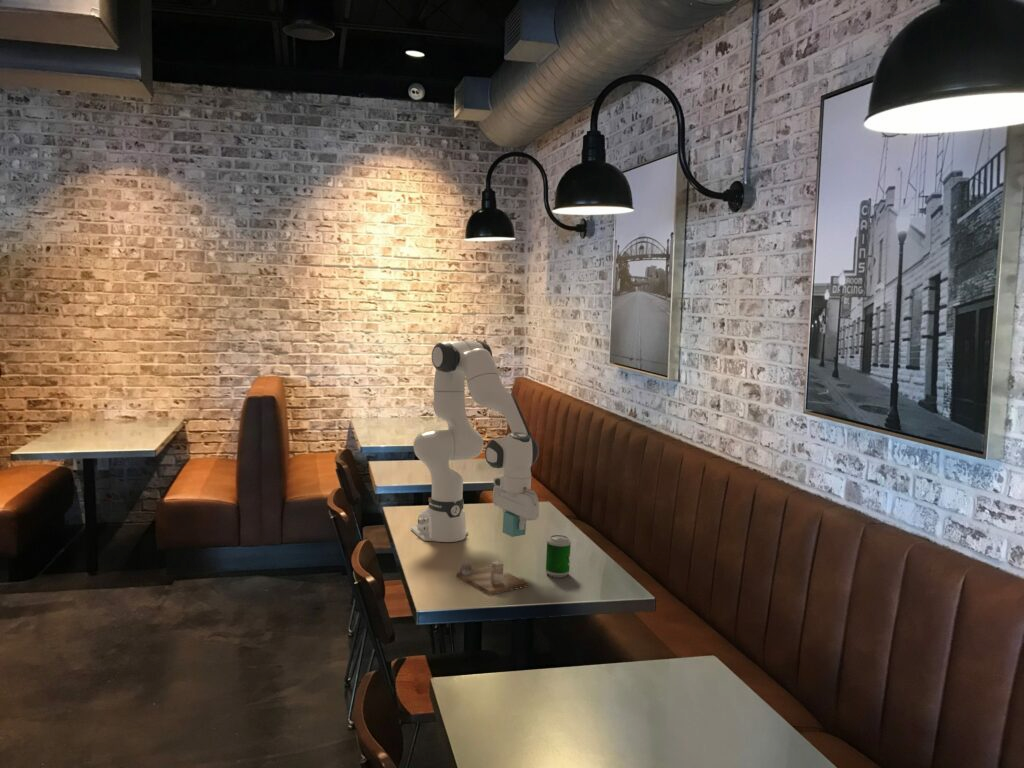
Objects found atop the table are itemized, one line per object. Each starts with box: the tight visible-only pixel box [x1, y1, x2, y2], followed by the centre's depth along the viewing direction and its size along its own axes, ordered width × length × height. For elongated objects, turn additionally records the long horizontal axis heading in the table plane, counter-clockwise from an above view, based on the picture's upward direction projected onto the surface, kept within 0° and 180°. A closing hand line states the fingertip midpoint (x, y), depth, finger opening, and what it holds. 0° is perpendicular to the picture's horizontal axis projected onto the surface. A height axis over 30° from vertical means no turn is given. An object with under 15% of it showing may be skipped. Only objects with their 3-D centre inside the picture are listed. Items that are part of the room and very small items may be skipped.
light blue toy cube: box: [502, 512, 527, 538], centre depth 257 cm, size 5×5×7 cm
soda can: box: [545, 534, 572, 578], centre depth 256 cm, size 8×8×12 cm
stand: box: [456, 560, 529, 595], centre depth 247 cm, size 18×14×7 cm
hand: (514, 526), depth 257 cm, fingers closed on light blue toy cube, 5 cm apart
